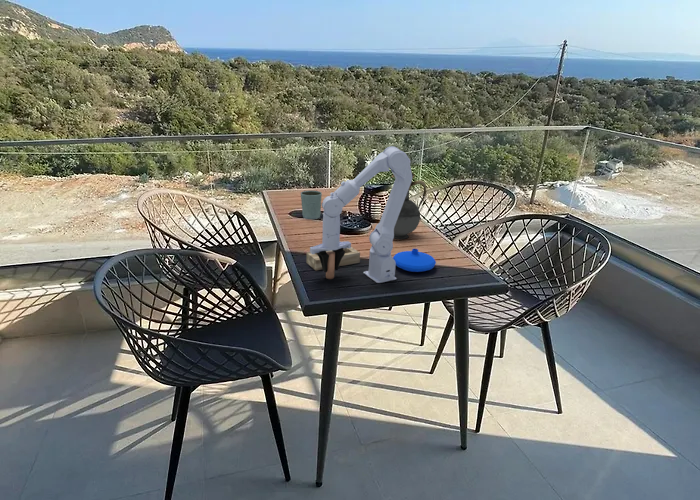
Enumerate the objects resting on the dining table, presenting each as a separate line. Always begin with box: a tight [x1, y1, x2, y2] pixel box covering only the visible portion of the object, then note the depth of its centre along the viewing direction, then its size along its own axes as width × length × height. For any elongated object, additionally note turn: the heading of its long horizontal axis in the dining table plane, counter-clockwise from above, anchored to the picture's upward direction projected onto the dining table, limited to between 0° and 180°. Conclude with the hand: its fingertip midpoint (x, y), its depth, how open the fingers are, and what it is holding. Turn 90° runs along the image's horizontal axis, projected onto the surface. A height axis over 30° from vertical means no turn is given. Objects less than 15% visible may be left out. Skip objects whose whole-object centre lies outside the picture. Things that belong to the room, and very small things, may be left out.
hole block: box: [306, 246, 361, 271], centre depth 166 cm, size 8×18×4 cm, turn 119°
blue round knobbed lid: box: [392, 248, 437, 273], centre depth 165 cm, size 16×16×7 cm
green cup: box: [300, 190, 323, 220], centre depth 218 cm, size 10×10×12 cm
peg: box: [325, 251, 336, 280], centre depth 153 cm, size 3×3×9 cm
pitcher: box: [391, 170, 428, 240], centre depth 193 cm, size 11×19×30 cm, turn 112°
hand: (330, 270), depth 154 cm, fingers open, 3 cm apart
